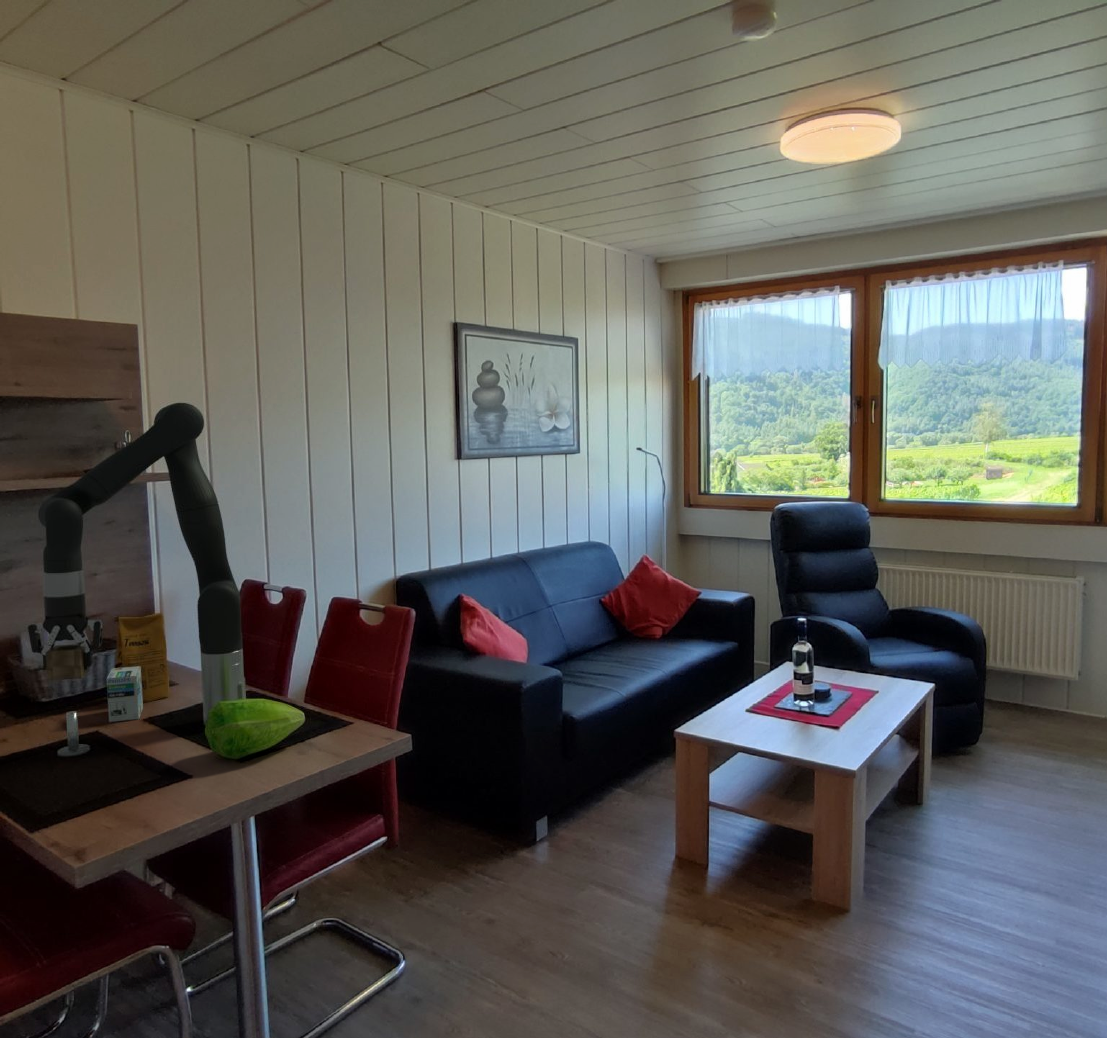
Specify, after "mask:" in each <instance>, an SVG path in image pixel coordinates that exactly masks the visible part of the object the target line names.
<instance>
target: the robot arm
mask: <svg viewBox="0 0 1107 1038" xmlns="http://www.w3.org/2000/svg"><path fill="white" fill-rule="evenodd" d="M204 428H205V418H204V416H203V414H202V412H201V410H200V409H198V407H196V406H194V405H193V404H191V403H188V402H174V403H171V404H169V405H168V404H167V405H166V406H165V407H162V408H161V409H160V410H159V411H157V413H156V415H155V416H154V420H153V425H152V426H151V427H150V428H149V429H147V430H146V431H145V432H144V433H142V434H141V435H140V436H139V437H137V438H136V439H134V440H133V441H132V442H131V443H128V444H127V445H126V446H124V447H122V448H121V449H119V450H117V451H115V452H114V453H112V454H111V455H109V456H108V457H106V458H105V459H103V460H102V461H100V462H99V463H98V464H96V465H95V466H94V467H92V468H91V469H89V471H87V472H86V473H85V474H83V475H82V476H81V477H80V478H79V479H77V480H76V481H75V482H73V483H71V484H70V485H68V486H66V487H65V488H63V489H61V490H59V491H58V492H57V493H54V495H52V496H50V497H49V498H48V499H46V500H45V501H44V502H43V503H42V504H41V505H40V507H39V509H38V514H37V517H38V520H39V522H40V524H41V525H42V526H43V527H44V528H45V541H46V544H45V546H44V549H43V554H42V559H43V560H42V563H43V564H42V565H43V581H42V584H43V585H42V587H43V588H42V594H43V603H44V605H43V607H44V609H43V610H44V621H43V622H39V623H38V622H33V623H31V624H30V625H28V626H27V630H28V636H29V642H30V643H29V644H30V647H31V648H30V649H31V652H32V653H34V654H36V653H38V654H41V655H42V663H43V664H42V665H43V666H42V667H43V668H42V669H43V670H45V671H47V669H46V652H47V651H48V650H50V649H51V648H53V647H54V646H56V643H57V642H62V641H65V640H66V641H75V642H76V644H79V645H80V646H81V648H83V651H84V653H83V663H84V670H88V669H89V668H90V669H91V666H92V665H93V663H94V662H93V661H94V660H93V659H94V657H93V656H94V655H93V652H94V650H97V649H98V648H100V647H101V646H102V645H103V629H104V620H103V619H101V618H100V619H98V620H91V619H89V618H88V617H87V611H86V610H87V607H86V593H85V592H86V590H85V589H86V587H85V585H86V584H85V577H84V571H83V558H82V557H83V556H82V542H83V541H82V540H83V534H84V533H83V532H84V531H83V530H84V516H83V515H85V514H86V513H87V512H89V511H90V510H91V509H93V508H95V507H99V506H101V505H103V504H104V503H106V502H108V501H109V500H110V499H111V498H113V497H114V496H115V495H116V494H118V493H119V492H120V491H122V490H123V489H124V488H125V487H127V486H128V485H129V484H130V483H131V482H132V481H134V480H135V479H137V477H138V476H140V475H141V474H142V473H143V472H144V471H146V470H147V469H149V468H150V467H151V466H152V465H154V464H156V462H158V461H159V460H160V459H162V458H164V460H165V464H166V466H167V467H166V468H167V471H168V476H169V483H170V488H171V494H172V497H173V501H174V502H173V503H174V507H175V511H176V516H177V520H178V524H179V527H180V528H179V529H180V531H181V534H182V537H183V541H184V542H185V544H186V547H187V549H188V552H189V553H190V556H191V558H192V561H193V562H194V563H193V564H194V567H195V570H196V571H195V572H196V576H197V583H198V584H197V585H198V591H199V594H198V599H197V607H196V608H197V623H198V624H197V626H198V640H199V647H200V668H201V669H200V670H201V688H202V689H201V691H202V709H203V710H202V711H203V714H202V716H203V725H204V726H206V722H207V717H208V712H209V711H210V710H211V709H212V708H213V707H214V706H215V705H216V704H217V703H218V702H220V701H232V700H237V699H247V696H246V695H247V693H246V677H245V676H244V675H245V673H244V671H245V670H244V653H243V652H244V650H243V649H244V648H243V632H242V613H241V612H242V611H241V610H242V609H241V601H242V598H241V594H240V591H239V588H238V586H237V583H236V581H235V578H234V574H233V573H232V569H231V565H230V563H229V560H228V554H227V546H226V536H225V530H224V525H223V524H224V522H223V517H222V513H221V510H220V509H221V508H220V505H219V501H218V498H217V495H216V491H215V490H214V488H213V485H212V483H211V482H210V480H209V478H208V476H207V474H206V472H205V471H204V468H203V467H202V466H203V465H202V464H201V461H200V457H199V451H198V446H197V439H198V437H200V435H201V434H202V433H203V430H204ZM88 626H89V628H90V630H91V631H93V633H92V634H93V635H92V643H91V641H90V640H89V638H88V637H89V636H87V634H86V632H84V631H85V630H86V629H87V627H88ZM43 629H44V630H45V632H47V633H48V634H49V636H48V638H47V640H46V642H45V644H44V646H43V645H42V639H41V633H42V631H43Z"/></svg>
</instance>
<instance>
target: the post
mask: <svg viewBox="0 0 1107 1038" xmlns="http://www.w3.org/2000/svg"><path fill="white" fill-rule="evenodd" d="M65 719H66V735H67V746H63V747H62V748H60V749H58V750H57V756H58V757H61V758H73V757H78V756H82V755H85V754H86V753H88V752H89V751H90V750H91V746H90V745H88V744H84V743H83V744H82V743H81V744H80V743H79V742H80V741H79V727H78V726H79V723H78V722H79V721H78V711H76V710H75V711H74V710H73V711H67V712H66V713H65Z"/></svg>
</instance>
